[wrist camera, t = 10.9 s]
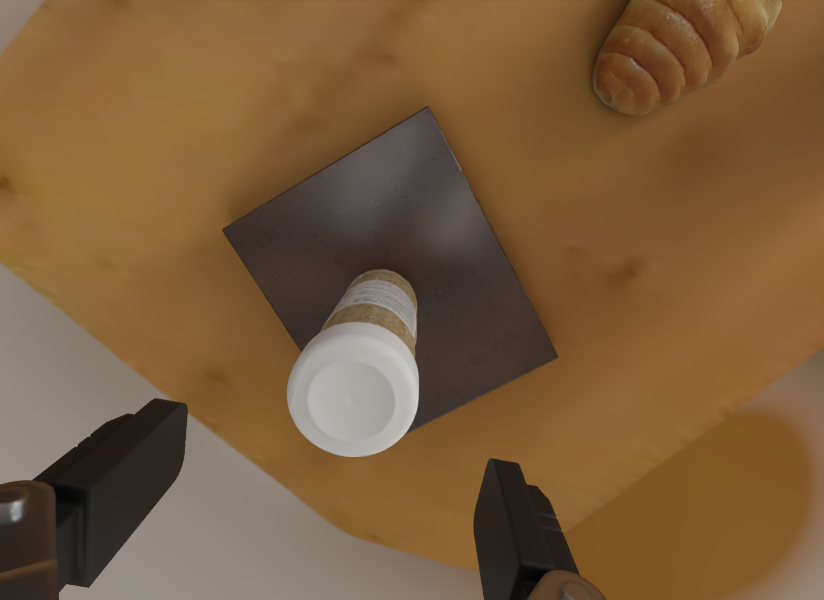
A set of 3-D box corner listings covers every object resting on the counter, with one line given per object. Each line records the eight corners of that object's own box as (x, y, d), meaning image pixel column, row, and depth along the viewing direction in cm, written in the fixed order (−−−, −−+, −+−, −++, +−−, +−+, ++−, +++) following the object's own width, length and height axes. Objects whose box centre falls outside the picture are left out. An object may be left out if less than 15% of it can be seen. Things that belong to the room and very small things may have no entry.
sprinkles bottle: (382, 352, 30) (355, 486, 17) (328, 304, 29) (255, 403, 16) (433, 302, 29) (447, 400, 16) (379, 250, 28) (346, 309, 15)
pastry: (632, 148, 28) (665, 142, 24) (559, 59, 27) (582, 38, 23) (767, 26, 26) (825, -1, 23) (695, -74, 25) (743, -119, 22)
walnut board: (230, 227, 29) (221, 229, 28) (427, 109, 28) (428, 105, 26) (369, 442, 33) (367, 453, 31) (552, 349, 31) (558, 357, 30)
